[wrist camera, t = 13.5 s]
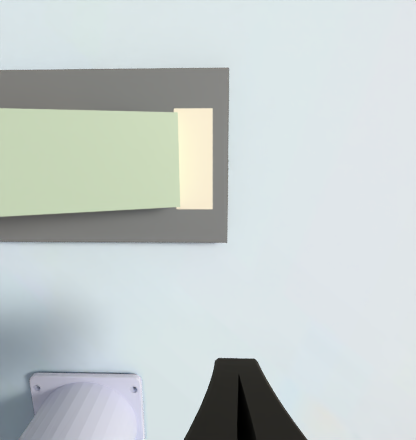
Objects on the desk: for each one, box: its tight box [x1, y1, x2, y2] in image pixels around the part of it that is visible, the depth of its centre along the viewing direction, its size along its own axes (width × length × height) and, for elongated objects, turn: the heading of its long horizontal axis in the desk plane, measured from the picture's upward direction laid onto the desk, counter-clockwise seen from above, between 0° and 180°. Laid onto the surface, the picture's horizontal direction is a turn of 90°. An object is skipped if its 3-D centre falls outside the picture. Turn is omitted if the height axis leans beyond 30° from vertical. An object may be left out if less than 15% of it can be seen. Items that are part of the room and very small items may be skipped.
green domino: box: [0, 108, 180, 217], centre depth 16 cm, size 2×5×10 cm
